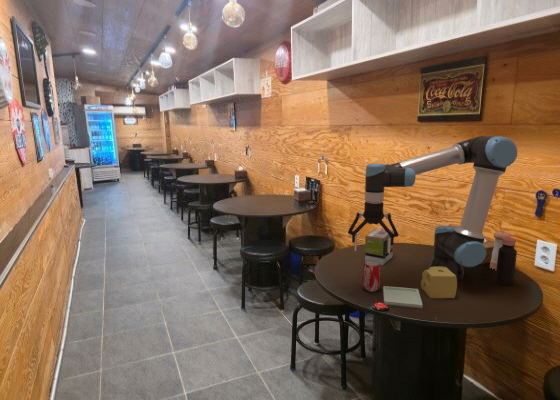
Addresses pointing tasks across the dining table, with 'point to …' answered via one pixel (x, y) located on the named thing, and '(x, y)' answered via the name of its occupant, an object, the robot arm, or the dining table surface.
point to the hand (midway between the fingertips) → (372, 251)
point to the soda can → (371, 276)
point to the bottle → (506, 262)
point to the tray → (402, 297)
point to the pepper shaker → (497, 247)
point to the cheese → (439, 282)
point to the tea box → (378, 246)
